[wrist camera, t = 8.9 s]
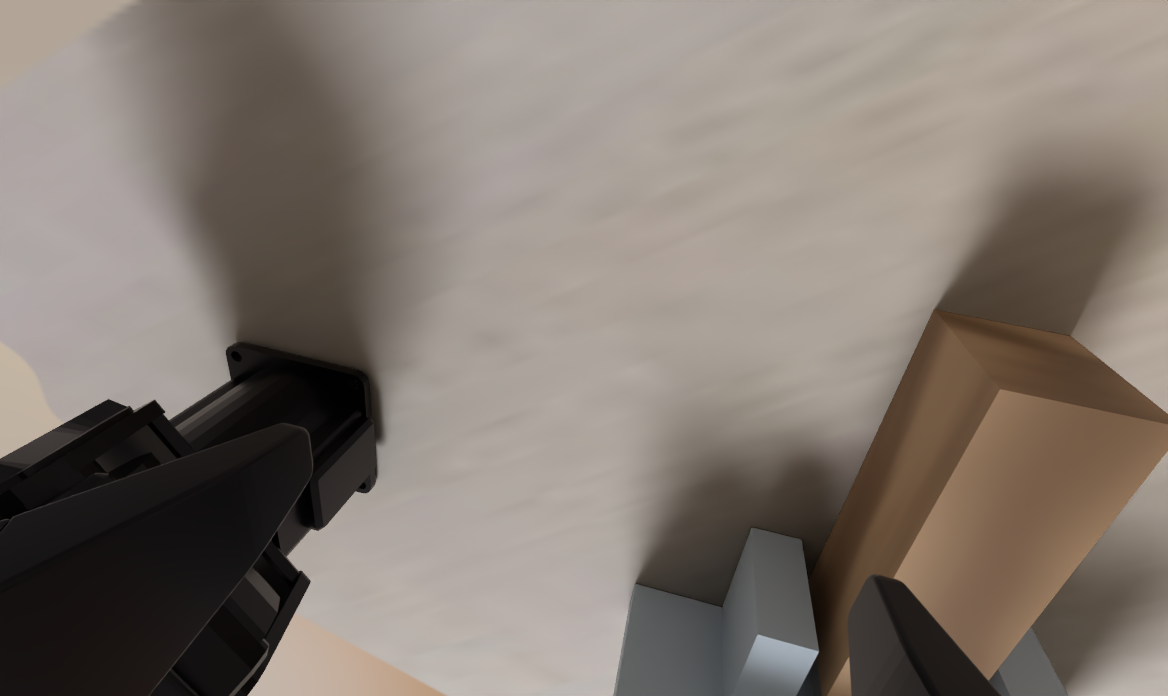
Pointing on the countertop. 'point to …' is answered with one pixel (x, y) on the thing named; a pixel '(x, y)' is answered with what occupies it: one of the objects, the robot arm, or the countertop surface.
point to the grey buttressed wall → (760, 636)
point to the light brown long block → (984, 486)
